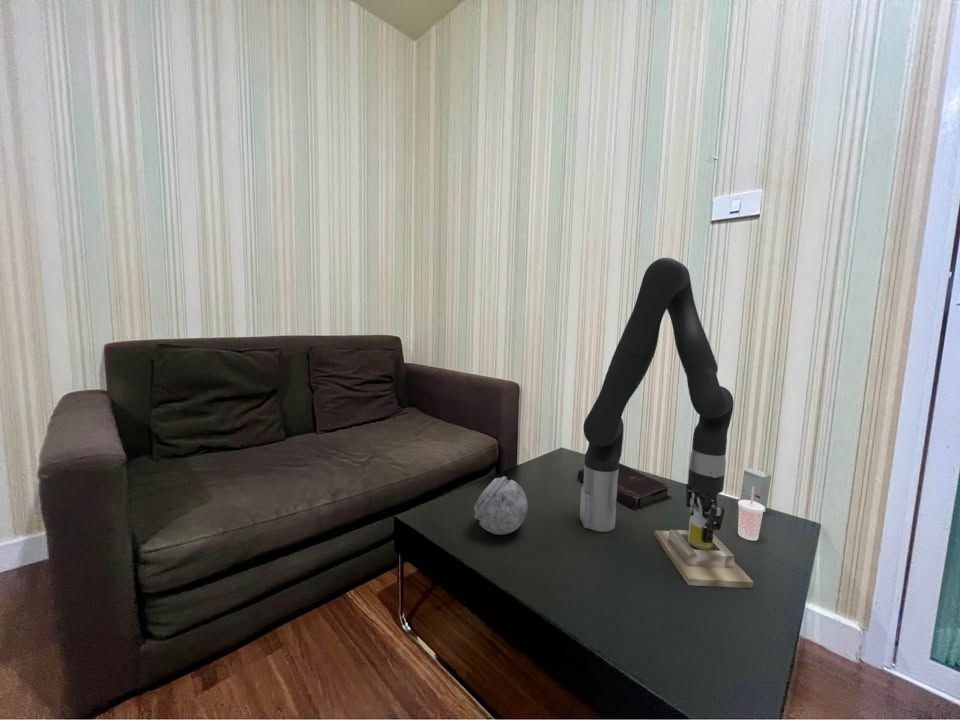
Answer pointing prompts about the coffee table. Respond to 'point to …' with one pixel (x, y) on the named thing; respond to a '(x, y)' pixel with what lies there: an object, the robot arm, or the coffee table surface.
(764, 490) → the skincare box
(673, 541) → the socket board
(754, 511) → the beverage cup
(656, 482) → the diary
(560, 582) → the coffee table surface
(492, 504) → the decorative orb
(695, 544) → the supplement bottle
